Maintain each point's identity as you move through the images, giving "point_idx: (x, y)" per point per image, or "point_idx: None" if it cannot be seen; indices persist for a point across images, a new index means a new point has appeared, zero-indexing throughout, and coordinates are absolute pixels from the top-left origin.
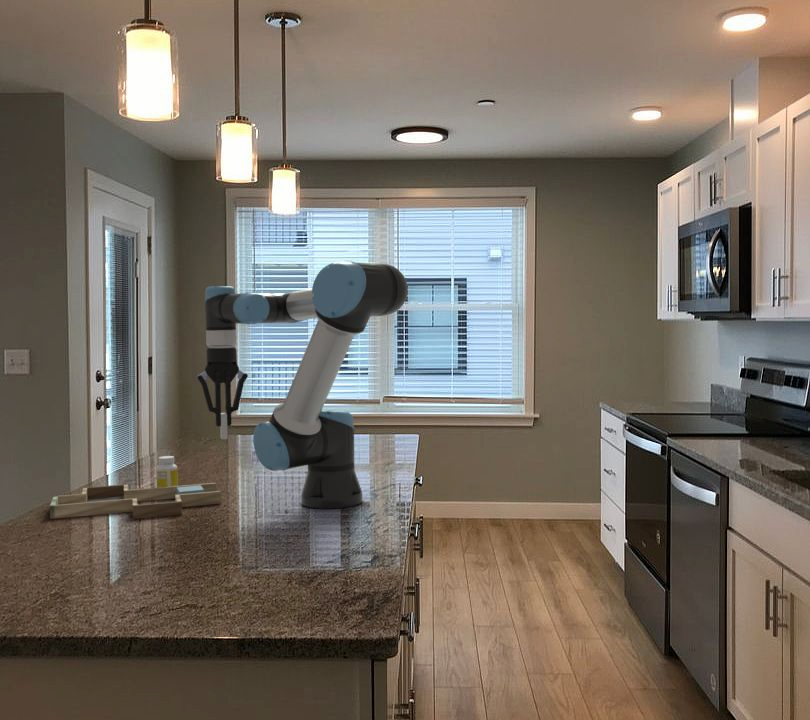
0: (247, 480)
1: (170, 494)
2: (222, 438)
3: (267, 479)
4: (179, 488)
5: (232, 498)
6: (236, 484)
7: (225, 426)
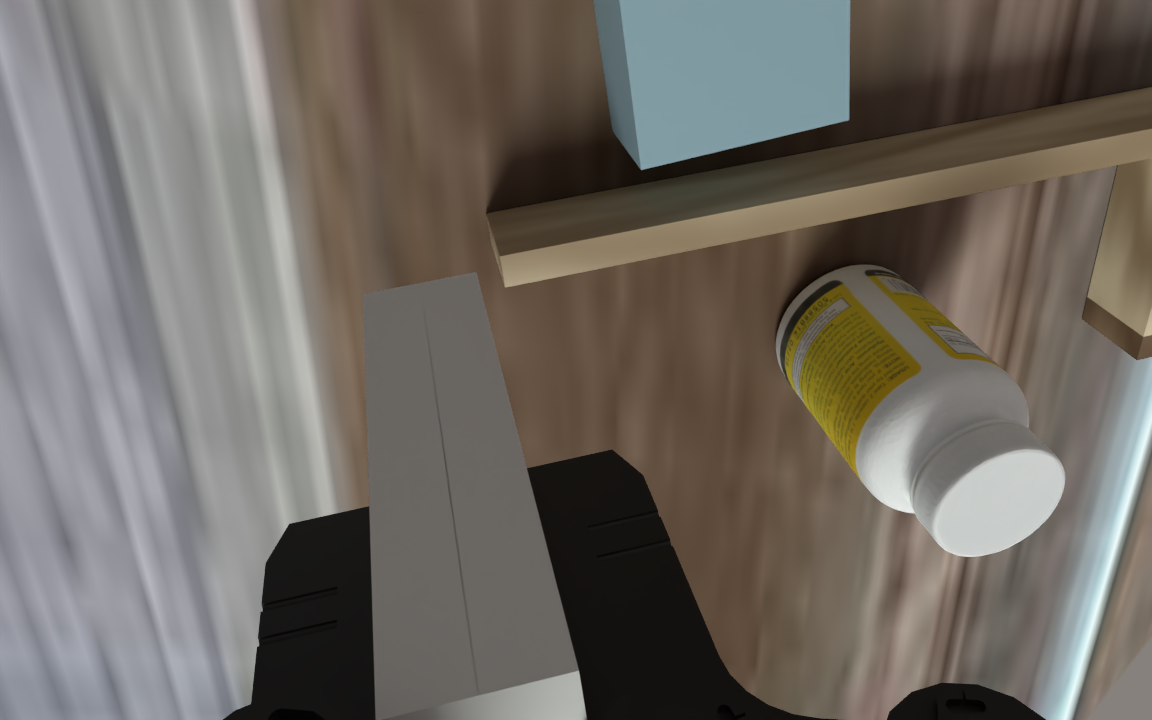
0: None
1: (859, 157)
2: (462, 285)
3: (137, 654)
4: (831, 65)
5: (323, 24)
6: None
7: (412, 442)
